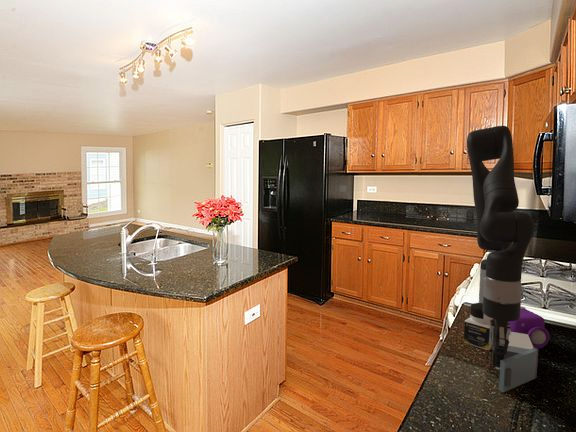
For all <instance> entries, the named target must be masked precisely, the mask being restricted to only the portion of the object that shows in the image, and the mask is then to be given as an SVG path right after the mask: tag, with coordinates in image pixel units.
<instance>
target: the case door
mask: <svg viewBox="0 0 576 432" xmlns="http://www.w3.org/2000/svg"><path fill="white" fill-rule="evenodd" d="M538 356H539V349H537V348H534V347H533V348H532V349H530V350H528V351H525V352H522V353H519V354H517V355H514V356H511V357H509V358H506V359H503V360H501V361H500V370H499V378H498V379H499V384H498V391H500V392H501V393H506V392H508V391H510V390H512V389H515V388H517V387H519V386H522V385H524V384H526V383H528V382H530V381H533V380H535V379H537V378H538V377H537V375H538V374H537V373H538V372H537V371H538V361H539V359H538V358H539V357H538Z"/></svg>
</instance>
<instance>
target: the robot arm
mask: <svg viewBox="0 0 576 432" xmlns="http://www.w3.org/2000/svg"><path fill="white" fill-rule="evenodd" d="M466 137H467V138H466V149H467V155H468V161H469V166H470V171H471V177H472V190H473V191H472V192H473V193H472V194H473V195H472V196H473V202H474V208H475V214H476V215H475V217H476V240H477V246H478V247H479V249H481V250H484V251H490V252H489V253H487V255H486V258H485V259H482V260H481V261H480V269H479V288H478V289H479V290H478V291H479V293H478V303H483V313H484V314H485V315H486V316H488V317H490V318H493V319H492V320H490V327H491V334H490V336H491V342H492V348H491V350H492V357H491V358H492V359H491V364H492V366H493V367H495V368H496V367H499V368H500V361H501V360H503V359H504V355H506V354H507V348H508V344H509V335H510V333H511V327H509V323H508V322H509V321H516V320H518V319H519V318H520V308H521V306H522V289H523V288H522V273H523V262H524V258H525V255H526V252H527V249H528V247H529V245H530V243H531V241H532V238H533V236H534V233H535V230H536V229H535V228H536V225H535V221H534V218H533V217H532V216H531V215H530V214H529V213H527V212H524V211H523V212H522V211H516V210H517V209H518V207H519V203H520V200H519V196H518V195H519V193H518V190H517V186H516V182H515V159H514V157H515V155H514V143H513V142H514V141H513V137H512V132H511V130H510V128H509V127H508V126H506V125H497V126H493V127H486V128H481V129H476V130H472V131H470V132H469V133H468V135H467V136H466ZM494 160H498V161H497V162H496V164H495V165H494V166H493V168H491V170H489V169H488V167H487V166H486V165H485V164H484V162H486V161H488V162H489V161H494Z"/></svg>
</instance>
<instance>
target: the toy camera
mask: <svg viewBox="0 0 576 432" xmlns="http://www.w3.org/2000/svg"><path fill="white" fill-rule="evenodd" d="M508 323H509V327H511V332H516V333H522V334H528V336H529V338H530V341H531V343H532V345H533V348H536V349H538V350H539V349H542V348H544V347H545V346H546V345H548V343H549V340H550V332H549V331H548V329H547V328H545V324H546V322H545V319H544V317H542V316H541V315H539V314H537V313H534V311H533V312H532V311H531V310H529V309H526V307H524V306H523V305H521V308H520V318H519V319H518V320H516V321H509V322H508Z"/></svg>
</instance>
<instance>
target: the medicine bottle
mask: <svg viewBox="0 0 576 432" xmlns="http://www.w3.org/2000/svg"><path fill="white" fill-rule="evenodd" d="M469 310H470V312H469V313H470V315H469V317H468V318H466V319H465V320H464V325H463V328H464V329H463V343H464V344H467V345H470V346H473V347H476V348H480V349H483V350H486V351H490V350H492V342H491V336H490V334H491V327H490V320H492V319H493V318H490V317H488V316H486V315H485V314H484V313H483V303H479V302H475V303H471V305H470V309H469Z"/></svg>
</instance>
